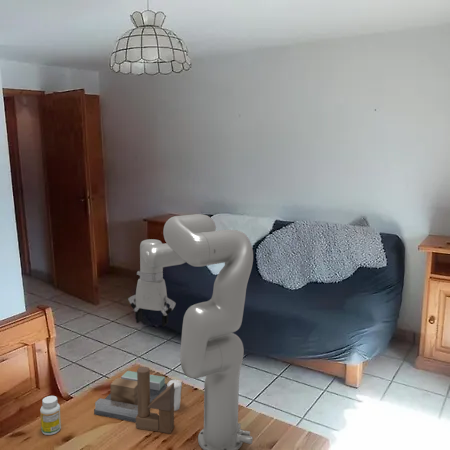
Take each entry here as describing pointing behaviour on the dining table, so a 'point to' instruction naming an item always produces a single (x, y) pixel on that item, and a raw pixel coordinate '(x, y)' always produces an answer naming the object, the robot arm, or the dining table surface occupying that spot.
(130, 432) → the dining table surface
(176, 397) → the milkshake
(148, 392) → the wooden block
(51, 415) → the supplement bottle
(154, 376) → the block
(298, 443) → the dining table surface
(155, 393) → the vise base
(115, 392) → the walnut block
